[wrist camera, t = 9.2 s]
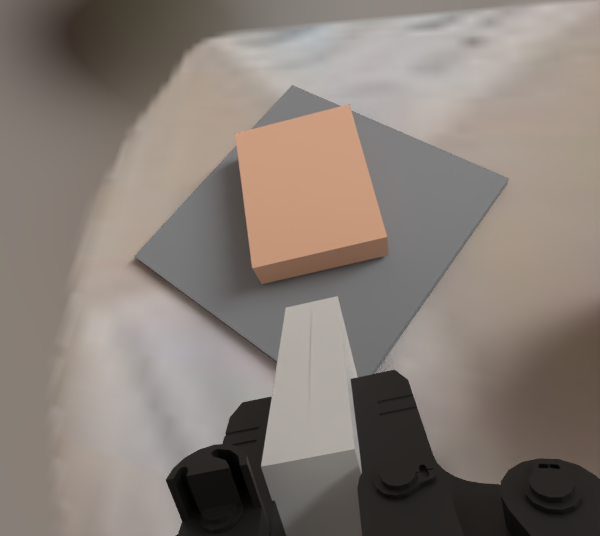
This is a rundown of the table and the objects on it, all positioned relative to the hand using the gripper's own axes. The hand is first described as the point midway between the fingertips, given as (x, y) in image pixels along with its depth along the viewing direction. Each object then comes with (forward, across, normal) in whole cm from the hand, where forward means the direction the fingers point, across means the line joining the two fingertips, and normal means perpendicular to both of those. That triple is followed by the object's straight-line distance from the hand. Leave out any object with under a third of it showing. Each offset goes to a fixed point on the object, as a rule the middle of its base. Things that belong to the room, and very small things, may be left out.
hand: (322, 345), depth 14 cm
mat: (+24, -1, -2) cm, 24 cm away
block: (+19, -1, -3) cm, 20 cm away
